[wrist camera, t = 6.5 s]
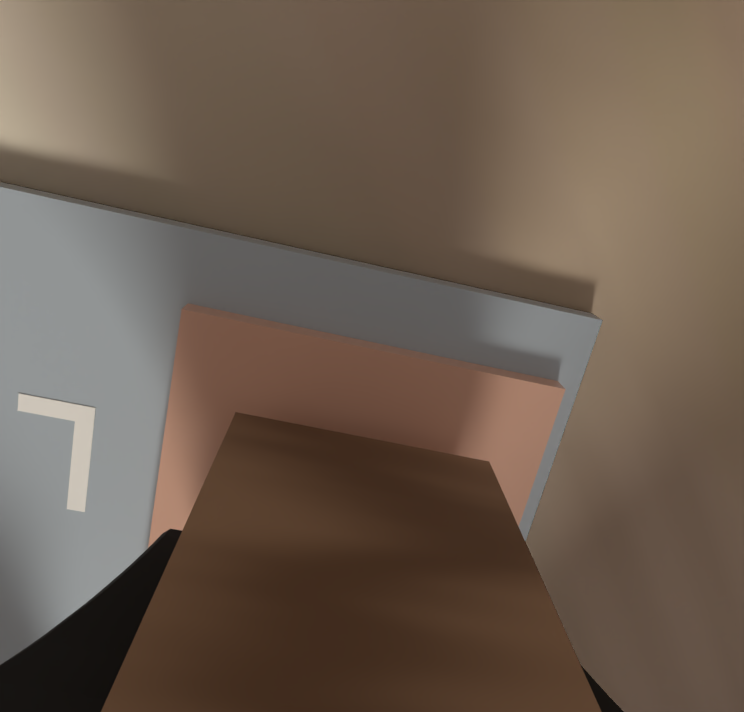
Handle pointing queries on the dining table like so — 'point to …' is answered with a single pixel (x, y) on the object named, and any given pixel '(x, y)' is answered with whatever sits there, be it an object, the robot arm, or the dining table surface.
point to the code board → (155, 367)
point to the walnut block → (348, 588)
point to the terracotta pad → (341, 402)
